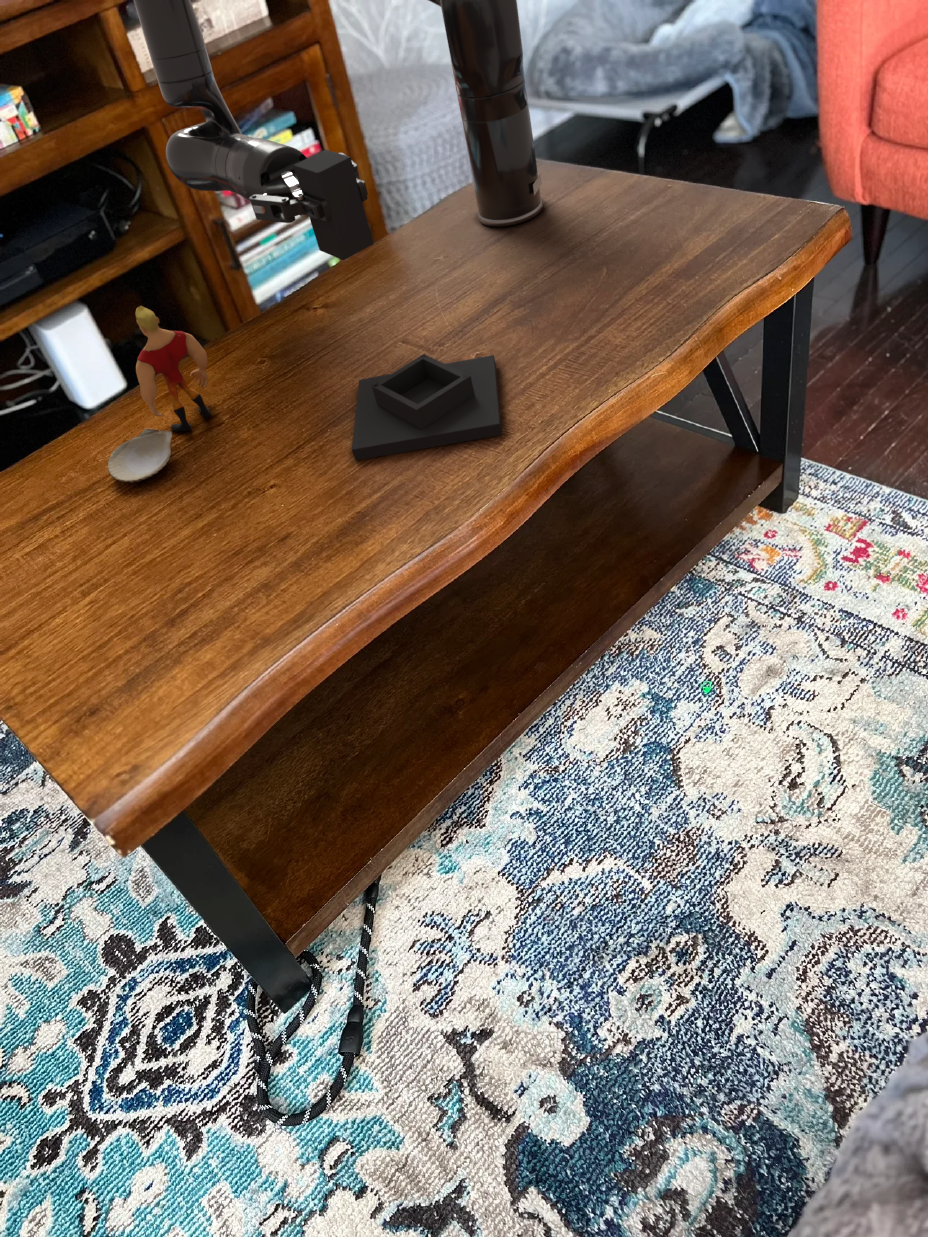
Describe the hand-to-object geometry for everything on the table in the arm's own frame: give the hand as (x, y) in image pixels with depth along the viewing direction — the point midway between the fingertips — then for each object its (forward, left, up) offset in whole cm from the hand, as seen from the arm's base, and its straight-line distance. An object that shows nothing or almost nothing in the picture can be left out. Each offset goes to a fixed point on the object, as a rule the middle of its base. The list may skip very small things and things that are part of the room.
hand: (345, 201), depth 107 cm
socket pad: (+17, +6, -18) cm, 25 cm away
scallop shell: (+18, -27, -18) cm, 37 cm away
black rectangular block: (-2, -2, -6) cm, 7 cm away
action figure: (+10, -23, -18) cm, 31 cm away
